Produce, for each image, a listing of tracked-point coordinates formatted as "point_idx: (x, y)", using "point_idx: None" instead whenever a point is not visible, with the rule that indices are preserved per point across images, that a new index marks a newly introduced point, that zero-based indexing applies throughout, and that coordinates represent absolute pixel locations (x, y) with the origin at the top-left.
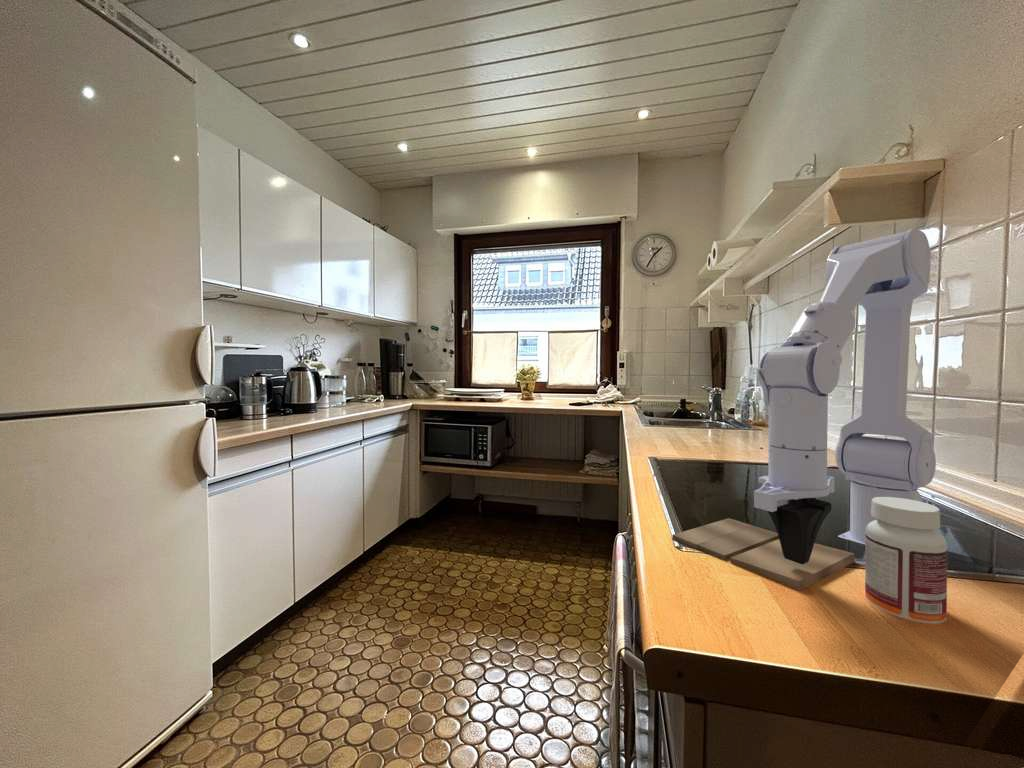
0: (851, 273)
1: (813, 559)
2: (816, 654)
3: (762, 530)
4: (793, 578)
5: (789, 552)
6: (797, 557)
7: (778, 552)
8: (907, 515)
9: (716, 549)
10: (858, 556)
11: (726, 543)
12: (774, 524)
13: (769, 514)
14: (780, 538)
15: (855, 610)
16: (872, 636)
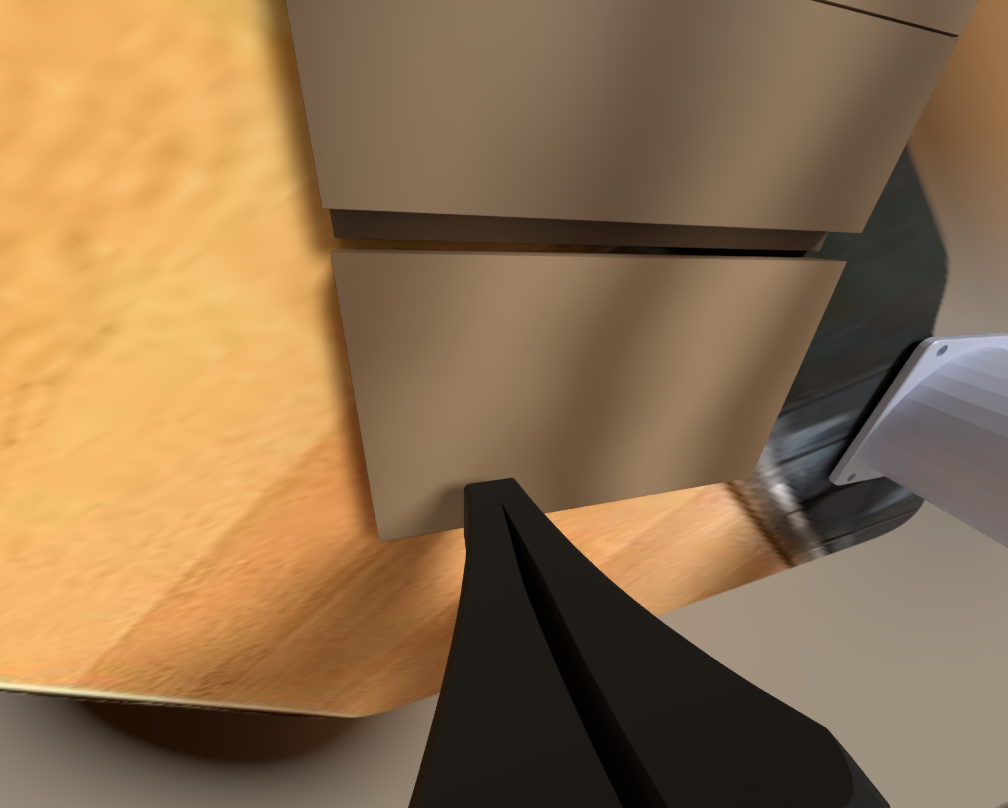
0: None
1: (620, 457)
2: (119, 658)
3: (888, 131)
4: (382, 524)
5: (467, 530)
6: (466, 543)
7: (608, 356)
8: None
9: (354, 100)
10: (799, 423)
11: (530, 85)
12: (452, 645)
13: (429, 748)
14: (466, 560)
15: (442, 571)
16: (351, 629)
